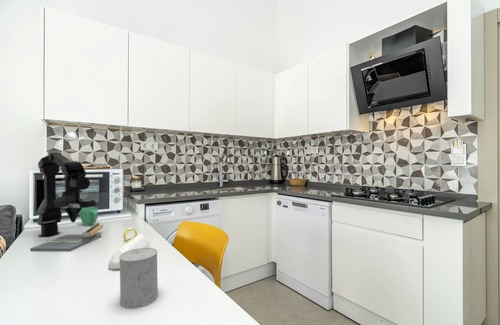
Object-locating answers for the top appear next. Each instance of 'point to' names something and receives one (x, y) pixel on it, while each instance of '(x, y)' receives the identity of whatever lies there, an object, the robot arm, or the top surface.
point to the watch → (129, 230)
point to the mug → (89, 215)
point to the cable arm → (92, 231)
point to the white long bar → (135, 243)
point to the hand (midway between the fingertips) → (73, 222)
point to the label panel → (65, 243)
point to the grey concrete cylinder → (138, 277)
